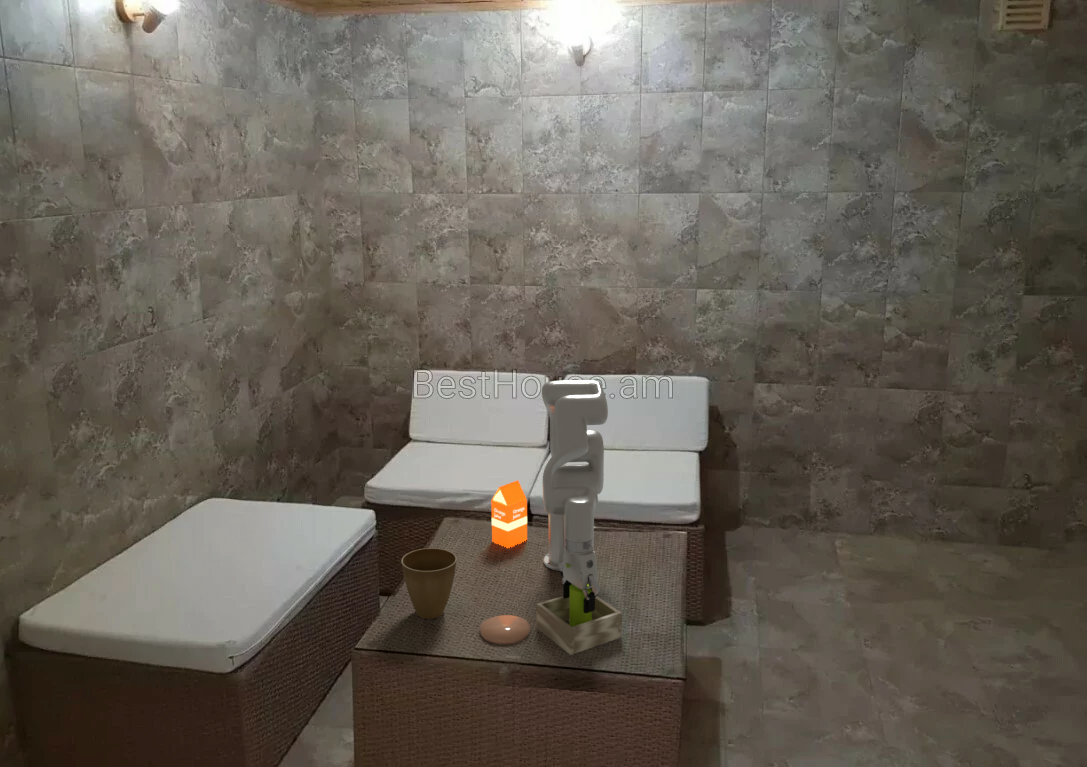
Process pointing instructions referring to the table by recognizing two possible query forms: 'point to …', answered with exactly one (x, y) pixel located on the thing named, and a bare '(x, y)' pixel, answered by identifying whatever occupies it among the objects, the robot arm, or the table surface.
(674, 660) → the table surface
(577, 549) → the robot arm
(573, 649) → the open wooden box
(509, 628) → the peach oval pebble
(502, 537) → the orange juice
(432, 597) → the plant pot
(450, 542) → the table surface
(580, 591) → the soap dispenser
